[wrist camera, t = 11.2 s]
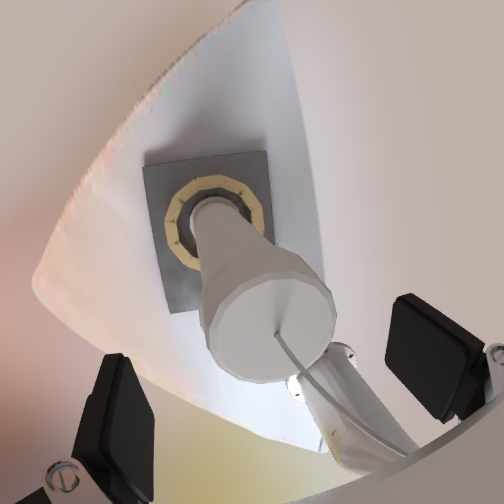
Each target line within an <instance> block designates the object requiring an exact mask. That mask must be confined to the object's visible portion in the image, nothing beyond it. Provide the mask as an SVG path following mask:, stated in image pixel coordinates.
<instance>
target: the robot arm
mask: <svg viewBox="0 0 504 504" xmlns="http://www.w3.org/2000/svg"><path fill="white" fill-rule="evenodd" d="M484 345H485V343H483V342H482V341H481V340H479V339H478V338H477V337H475V336H474V335H473V334H471V333H470V332H468V331H467V330H465V329H464V328H463V327H461V326H460V325H458V324H457V323H456V322H454V321H453V320H451V319H450V318H448V317H447V316H445V315H444V314H443V313H441V312H440V311H438V310H437V309H435V308H434V307H432V306H431V305H429V304H428V303H426V302H425V301H423V300H422V299H420V298H419V297H417V296H415V295H414V294H412V293H408V294H405V295H402V296H399V297H397V299H396V301H395V302H394V304H393V308H392V316H391V323H390V330H389V336H388V342H387V348H386V354H385V363H386V365H387V367H388V368H389V369H390V370H391V371H392V372H393V374H395V376H396V377H397V378H398V379H399V380H400V381H401V382H402V383H403V384H404V385H405V387H407V389H408V390H409V391H410V392H411V393H412V394H413V395H414V396H415V397H416V399H417V400H418V401H419V402H420V403H421V404H422V405H423V406H424V407H425V408H426V409H427V411H428V412H429V413H430V414H431V415H432V416H433V417H434V418H435V419H439V420H440V421H441V422H442V423H443V424H445V423H446V422H448V421H449V420H451V419H452V418H453V417H454V416H455V414H456V415H457V416H458V425H457V426H455V427H454V428H453V429H451V430H449V431H448V432H446V433H445V434H443V435H442V436H440V437H438V438H437V439H435V440H434V441H432V442H430V443H429V444H427V445H425V446H424V447H422V448H420V447H419V446H418V445H417V444H416V443H415V442H414V441H413V440H412V439H411V438H410V437H409V436H408V434H407V433H406V432H405V431H404V430H403V428H402V427H401V426H400V425H399V423H398V422H397V421H396V420H395V418H394V417H393V416H392V415H391V413H390V412H389V411H388V409H387V408H386V407H385V406H384V404H383V403H382V402H381V401H380V399H379V398H378V397H377V396H376V394H375V393H374V392H373V391H372V389H371V388H370V387H369V385H368V384H367V383H366V382H365V380H364V379H363V378H362V377H361V375H360V374H359V373H358V372H357V370H356V368H357V357H356V354H355V353H354V351H353V350H352V349H351V348H350V347H349V346H347V345H346V344H343V343H339V342H329V344H328V346H327V348H326V349H325V351H324V353H323V354H322V356H321V357H320V358H318V359H317V360H316V361H315V362H314V363H313V364H312V365H311V366H309V367H308V368H307V369H306V370H307V371H308V372H309V373H310V375H311V376H312V377H313V378H314V379H315V380H316V381H317V382H318V383H319V384H320V385H321V386H322V387H323V388H324V389H325V390H326V391H327V392H328V393H329V394H330V395H331V396H332V397H333V398H334V399H335V400H336V401H337V402H338V403H339V404H340V405H341V406H342V407H344V408H345V409H346V410H347V411H348V412H349V413H350V414H352V415H353V416H354V417H355V418H356V419H358V420H359V421H360V422H361V423H363V424H364V425H365V426H367V427H368V428H369V429H371V430H372V431H373V432H375V433H376V434H378V435H379V436H381V437H382V438H384V439H385V440H387V441H388V442H390V443H391V444H393V445H395V446H396V447H398V448H400V449H402V450H403V451H405V452H407V453H409V455H407V456H406V457H402V456H400V455H398V454H396V453H395V452H393V451H391V450H389V449H388V448H386V447H385V446H383V445H381V444H380V443H378V442H377V441H375V440H374V439H372V438H371V437H370V436H368V435H367V434H365V433H364V432H363V431H361V430H360V429H359V428H357V427H356V426H355V425H354V424H353V423H351V422H350V421H349V420H348V419H347V418H345V417H344V416H343V415H342V414H341V413H340V412H339V411H337V410H336V409H335V408H334V407H333V406H332V405H331V404H330V403H329V402H328V401H327V400H326V399H325V398H324V397H323V396H322V395H321V394H320V393H319V392H318V391H317V390H316V389H315V388H314V387H313V386H312V385H311V383H310V382H309V381H308V380H307V379H306V378H305V377H304V376H303V374H302V373H299V374H297V375H295V376H292V377H290V378H288V379H287V382H286V383H287V388H288V390H289V392H290V394H291V395H292V397H294V398H295V399H297V400H299V401H302V402H305V403H306V405H307V407H308V409H309V411H310V413H311V414H312V416H313V418H314V421H315V422H316V424H317V426H318V428H319V430H320V432H321V434H322V436H323V438H324V440H325V442H326V443H327V445H328V447H329V449H330V451H331V453H332V455H333V457H334V458H335V460H336V462H337V464H338V465H339V466H340V467H341V468H343V469H344V470H346V471H348V472H350V473H353V474H356V475H360V476H364V477H362V478H359V479H357V480H355V481H352V482H349V483H347V484H344V485H342V486H339V487H336V488H333V489H331V490H328V491H325V492H322V493H319V494H316V495H313V496H310V497H306V498H303V499H299V500H296V501H292V502H289V503H285V504H504V344H500V343H497V344H493V345H490V346H489V347H488V348H487V351H486V353H484V352H483V348H484ZM154 424H155V419H154V414H153V412H152V409H151V407H150V405H149V403H148V401H147V399H146V396H145V394H144V392H143V390H142V387H141V385H140V383H139V380H138V378H137V376H136V373H135V371H134V368H133V366H132V363H131V361H130V359H129V357H124V355H123V354H122V353H116V354H106V355H105V356H104V358H103V361H102V364H101V367H100V370H99V373H98V376H97V379H96V382H95V385H94V388H93V392H92V394H90V395H89V396H88V398H87V400H86V404H85V407H84V410H83V414H82V417H81V421H80V425H79V428H78V432H77V436H76V439H75V443H74V447H73V451H72V456H71V457H58V458H56V459H53V460H52V461H50V462H49V463H47V465H46V466H45V467H44V469H43V472H42V475H41V482H42V485H43V487H41V488H40V489H38V490H37V491H35V492H33V493H32V494H30V495H28V496H27V497H25V498H24V499H22V500H20V501H18V502H17V503H15V504H149V502H152V501H153V499H154V492H153V490H154V488H153V461H154V460H153V459H154Z"/></svg>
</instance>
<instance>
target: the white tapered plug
mask: <svg viewBox="0 0 504 504" xmlns="http://www.w3.org/2000/svg"><path fill="white" fill-rule="evenodd" d="M190 229H191V232H192V234H193V236H194V238H195V239H196V245H197V252H198V258H199V265H200V271H201V277H202V283H203V288H202V290H201V293H200V295H199V317H200V326H201V328H202V330H203V331H204V333H205V338H206V344H207V348H208V350H209V352H210V353H211V355H212V357H213V358H214V360H215V362H216V363H217V365H218V366H219V367H220V368H221V369H223V370H224V371H226V372H227V373H229V374H230V375H232V376H233V377H235V378H237V379H238V380H242V381H247V382H252V383H258V384H264V383H271V382H278V381H284V380H286V379H288V378H290V377H292V376H295V375H297V374H299V373H302V374H303V376H304V377H305V378H306V379H307V380H308V381H309V382H310V383H311V385H312V386H313V387H314V388H315V389H316V390H317V391H318V392H319V393H320V394H321V395H322V396H323V397H324V398H325V399H326V400H327V401H328V402H329V403H330V404H331V405H332V406H333V407H334V408H335V409H336V410H337V411H339V412H340V413H341V414H342V415H343V416H344V417H345V418H347V419H348V420H349V421H350V422H351V423H353V424H354V425H355V426H356V427H357V428H359V429H360V430H361V431H363V432H364V433H365V434H367V435H368V436H370V437H371V438H372V439H374V440H375V441H377V442H378V443H380V444H381V445H383V446H385V447H386V448H388V449H389V450H391V451H393V452H395V453H396V454H398V455H400V456H402V457H406V456H407V455H409V453H407V452H405V451H403V450H402V449H400V448H398V447H396V446H395V445H393V444H391V443H390V442H388V441H387V440H385V439H384V438H382V437H381V436H379V435H378V434H376V433H375V432H373V431H372V430H371V429H369V428H368V427H367V426H365V425H364V424H363V423H361V422H360V421H359V420H358V419H356V418H355V417H354V416H353V415H352V414H350V413H349V412H348V411H347V410H346V409H345V408H344V407H342V406H341V405H340V404H339V403H338V402H337V401H336V400H335V399H334V398H333V397H332V396H331V395H330V394H329V393H328V392H327V391H326V390H325V389H324V388H323V387H322V386H321V385H320V384H319V383H318V382H317V381H316V380H315V379H314V378H313V377H312V376H311V375H310V373H309V372H308V371H307V370H306V369H307V368H308V367H309V366H311V365H312V364H313V363H314V362H315V361H316V360H317V359H318V358H320V357H321V356H322V354H323V353H324V351H325V349H326V348H327V346H328V344H329V342H330V341H331V339H332V337H333V334H334V328H335V323H336V317H337V314H336V309H335V305H334V301H333V298H332V294H331V291H330V290H329V289H328V288H327V286H326V285H325V284H324V283H323V282H322V281H321V280H320V279H319V278H318V277H317V275H316V273H315V272H314V271H313V270H312V269H311V268H310V267H309V266H308V265H307V263H306V262H305V261H304V260H303V259H302V258H301V257H300V256H298V255H297V254H295V253H292V252H290V251H287V250H285V249H282V248H280V247H277V246H274V245H273V244H271V243H270V242H269V241H268V240H267V239H266V238H265V237H264V236H263V235H262V234H261V233H260V232H258V231H257V230H256V229H255V228H254V227H253V226H252V225H251V224H250V223H249V222H248V221H246V220H245V219H244V218H243V217H242V216H241V215H240V213H239V210H238V208H237V207H236V206H235V205H234V204H233V203H232V202H231V201H230V200H228V199H226V198H223V197H221V196H209V197H206V198H204V199H202V200H200V201H199V202H198V203H197V204H196V205H195V206H194V208H193V211H192V213H191V216H190Z"/></svg>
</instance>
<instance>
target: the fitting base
mask: <svg viewBox="0 0 504 504" xmlns="http://www.w3.org/2000/svg"><path fill="white" fill-rule="evenodd" d="M142 169H143V177H144V184H145V191H146V197H147V204H148V210H149V216H150V221H151V227H152V232H153V238H154V243H155V248H156V253H157V258H158V263H159V268H160V272H161V277H162V281H163V286H164V290H165V294H166V299H167V303H168V307H169V311H170V314H173V313H179V312H186V311H192V310H198V309H199V295H200V293H201V290H202V288H203V283H202V277H201V271H200V265H199V258H198V252H197V245H196V239H195V238H194V236H193V234H192V232H191V229H190V216H191V213H192V211H193V208H194V206H195V205H196V204H197V203H198V202H199V201H200V200H202V199H204V198H206V197H209V196H221V197H223V198H226V199H228V200H230V201H231V202H232V203H233V204H234V205H235V206H236V207H237V208H238V210H239V213H240V215H241V216H242V217H243V218H244V219H245V220H246V221H248V222H249V223H250V224H251V225H252V226H253V227H254V228H255V229H256V230H257V231H258V232H260V233H261V234H262V235H263V236H264V237H265V238H266V239H267V240H268V241H269V242H270V243H271V244H273V245H274V246H275V242H274V230H273V219H272V207H271V196H270V185H269V175H268V165H267V155H266V151H257V152H247V153H237V154H228V155H220V156H212V157H204V158H197V159H190V160H183V161H177V162H171V163H165V164H159V165H153V166H148V167H142Z"/></svg>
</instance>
